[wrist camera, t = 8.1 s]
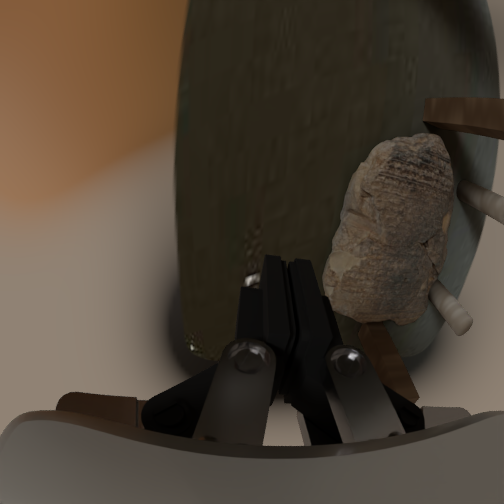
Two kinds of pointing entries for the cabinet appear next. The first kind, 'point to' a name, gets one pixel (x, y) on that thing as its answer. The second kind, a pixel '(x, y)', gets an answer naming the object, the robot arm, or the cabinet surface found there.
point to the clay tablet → (392, 232)
